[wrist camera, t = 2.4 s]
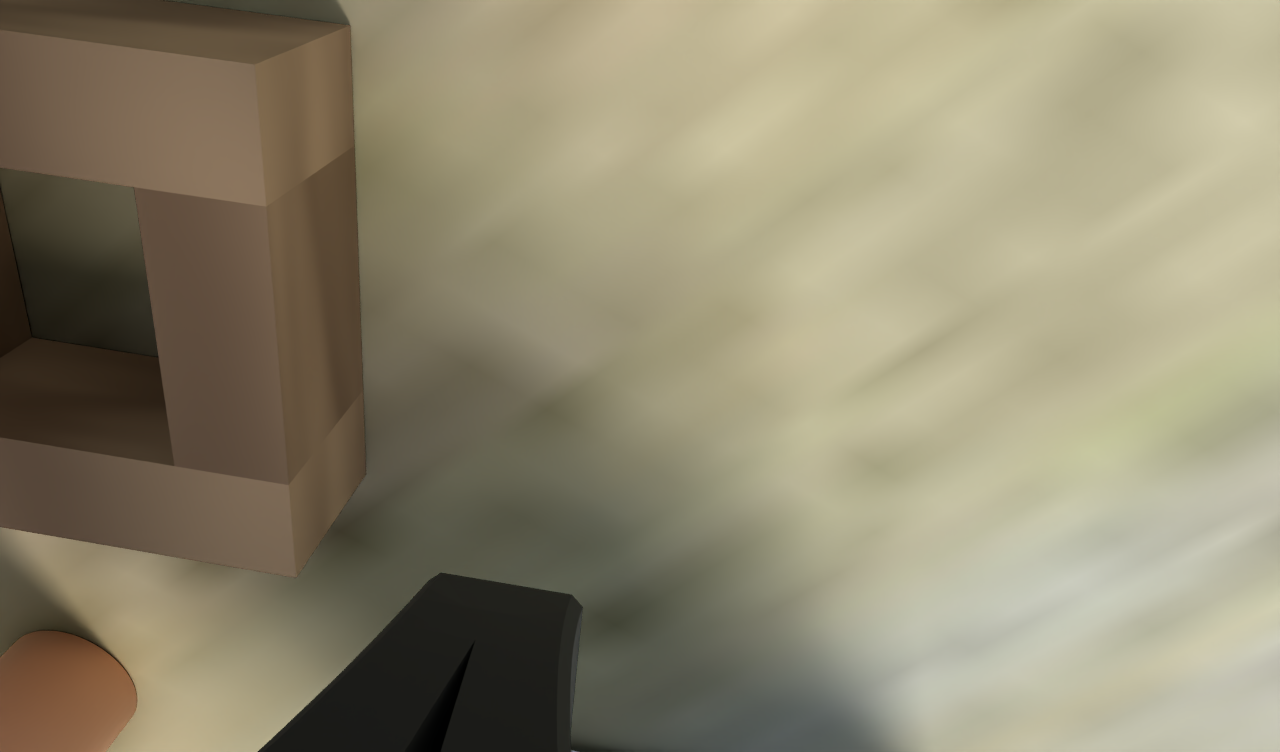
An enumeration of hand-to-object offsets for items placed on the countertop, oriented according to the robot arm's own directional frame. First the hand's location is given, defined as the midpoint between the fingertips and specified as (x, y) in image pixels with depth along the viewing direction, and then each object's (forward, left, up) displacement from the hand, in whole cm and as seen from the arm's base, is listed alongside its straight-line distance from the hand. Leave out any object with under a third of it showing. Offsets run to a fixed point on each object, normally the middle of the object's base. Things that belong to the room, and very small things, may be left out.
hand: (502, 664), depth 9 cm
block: (+8, 0, -8) cm, 12 cm away
